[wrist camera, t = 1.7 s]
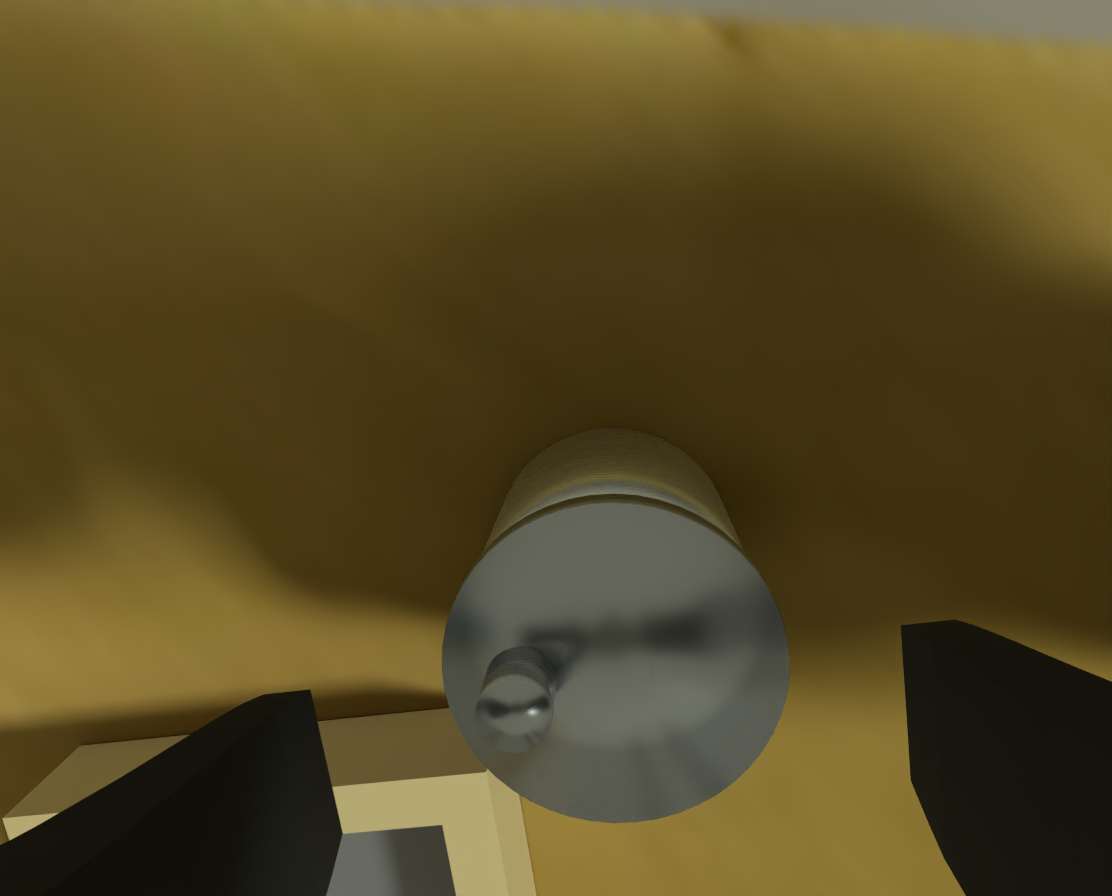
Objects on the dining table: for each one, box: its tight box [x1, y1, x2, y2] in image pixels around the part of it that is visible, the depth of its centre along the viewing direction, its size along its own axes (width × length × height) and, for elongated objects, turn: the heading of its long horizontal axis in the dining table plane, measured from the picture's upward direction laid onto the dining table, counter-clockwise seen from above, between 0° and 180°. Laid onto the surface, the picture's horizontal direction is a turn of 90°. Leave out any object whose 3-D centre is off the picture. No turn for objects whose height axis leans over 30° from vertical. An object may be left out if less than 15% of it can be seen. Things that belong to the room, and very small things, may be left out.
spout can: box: [442, 428, 789, 823], centre depth 14 cm, size 5×5×6 cm
